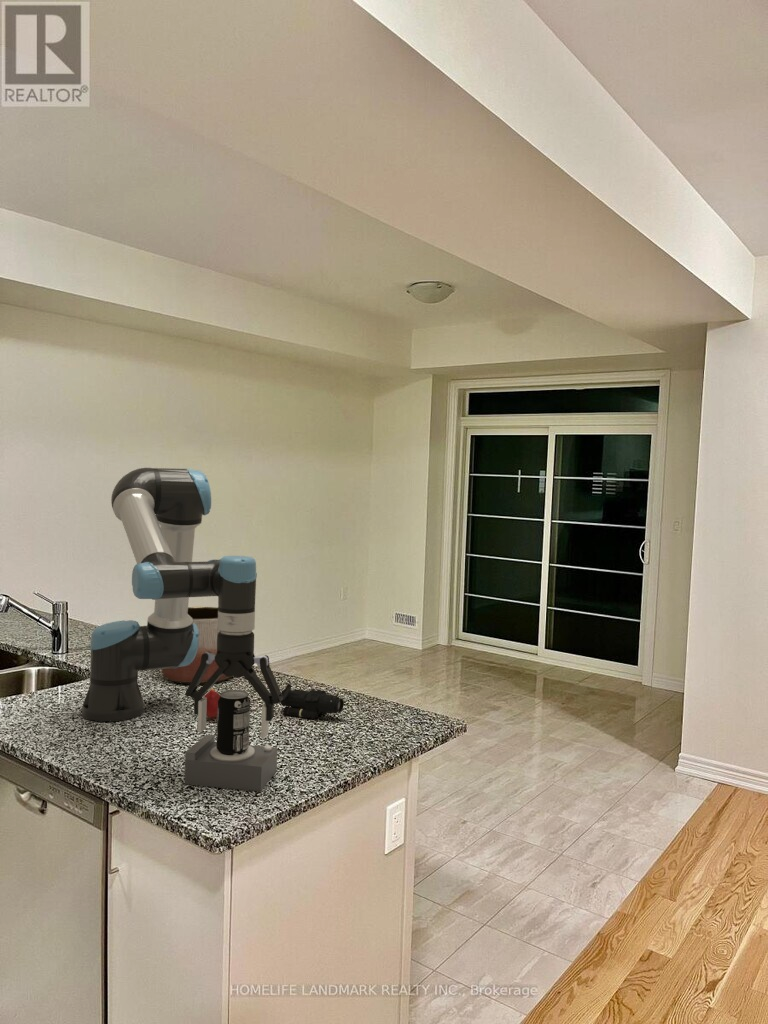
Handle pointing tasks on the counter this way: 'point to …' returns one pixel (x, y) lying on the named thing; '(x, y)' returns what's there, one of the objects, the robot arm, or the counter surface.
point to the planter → (199, 647)
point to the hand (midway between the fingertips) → (233, 733)
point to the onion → (212, 703)
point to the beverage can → (233, 722)
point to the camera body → (229, 766)
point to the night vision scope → (309, 703)
